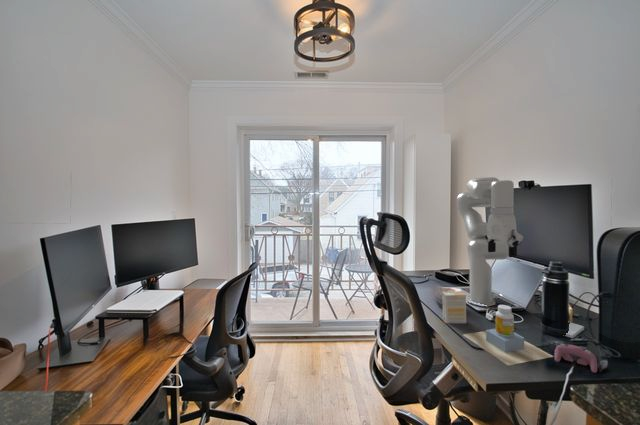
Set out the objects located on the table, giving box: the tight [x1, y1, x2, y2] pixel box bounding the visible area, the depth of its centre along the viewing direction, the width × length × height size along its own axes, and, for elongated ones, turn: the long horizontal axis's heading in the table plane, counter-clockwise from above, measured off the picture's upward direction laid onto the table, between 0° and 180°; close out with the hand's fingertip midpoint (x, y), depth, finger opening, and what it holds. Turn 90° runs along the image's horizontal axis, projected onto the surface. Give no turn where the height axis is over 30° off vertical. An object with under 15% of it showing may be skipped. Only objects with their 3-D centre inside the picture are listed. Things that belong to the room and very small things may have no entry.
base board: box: [462, 330, 555, 366], centre depth 98 cm, size 18×20×1 cm
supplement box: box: [441, 290, 467, 324], centre depth 117 cm, size 8×5×13 cm, turn 84°
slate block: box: [485, 328, 525, 352], centre depth 98 cm, size 8×8×4 cm
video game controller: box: [553, 343, 598, 373], centre depth 87 cm, size 10×5×7 cm, turn 47°
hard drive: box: [564, 322, 585, 339], centre depth 109 cm, size 2×8×12 cm
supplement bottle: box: [494, 304, 515, 337], centre depth 98 cm, size 5×5×10 cm
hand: (501, 254), depth 110 cm, fingers open, 9 cm apart
